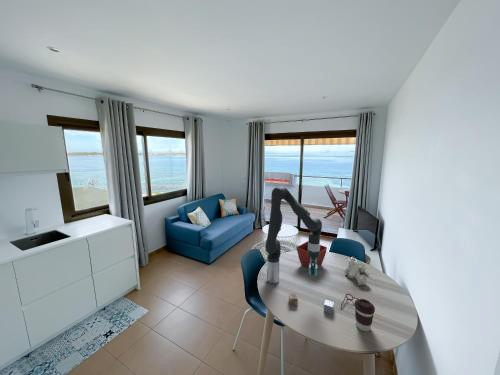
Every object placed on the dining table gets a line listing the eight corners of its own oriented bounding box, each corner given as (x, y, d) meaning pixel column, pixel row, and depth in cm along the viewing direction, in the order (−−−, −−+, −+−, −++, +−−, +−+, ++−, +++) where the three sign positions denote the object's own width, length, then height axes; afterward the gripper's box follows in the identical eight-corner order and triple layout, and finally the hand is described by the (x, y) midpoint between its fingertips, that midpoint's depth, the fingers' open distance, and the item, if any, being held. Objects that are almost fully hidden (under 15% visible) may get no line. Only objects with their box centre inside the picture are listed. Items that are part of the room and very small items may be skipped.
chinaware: (370, 291, 146) (374, 270, 143) (345, 284, 152) (348, 264, 149) (364, 270, 172) (367, 252, 169) (342, 265, 178) (345, 247, 174)
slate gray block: (323, 311, 127) (324, 304, 126) (325, 306, 131) (325, 299, 130) (332, 314, 125) (332, 307, 124) (333, 309, 129) (333, 302, 128)
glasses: (367, 307, 130) (368, 300, 129) (363, 320, 120) (363, 312, 119) (345, 298, 138) (346, 291, 137) (339, 310, 128) (340, 302, 128)
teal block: (308, 274, 135) (309, 267, 134) (309, 270, 139) (309, 263, 139) (316, 275, 133) (317, 268, 132) (317, 271, 138) (317, 264, 137)
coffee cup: (364, 336, 109) (366, 311, 107) (349, 323, 118) (350, 299, 116) (377, 329, 113) (379, 305, 110) (361, 317, 122) (362, 294, 119)
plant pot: (307, 257, 193) (308, 240, 190) (326, 265, 179) (327, 247, 176) (295, 265, 180) (296, 247, 177) (315, 274, 166) (316, 254, 164)
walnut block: (289, 305, 133) (290, 298, 132) (289, 300, 138) (289, 293, 137) (297, 305, 133) (297, 298, 132) (296, 300, 137) (296, 293, 137)
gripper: (308, 243, 141) (308, 265, 144) (306, 252, 128) (306, 277, 131) (320, 244, 139) (319, 267, 142) (319, 254, 125) (318, 279, 128)
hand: (313, 272), depth 136 cm, fingers closed on teal block, 5 cm apart
